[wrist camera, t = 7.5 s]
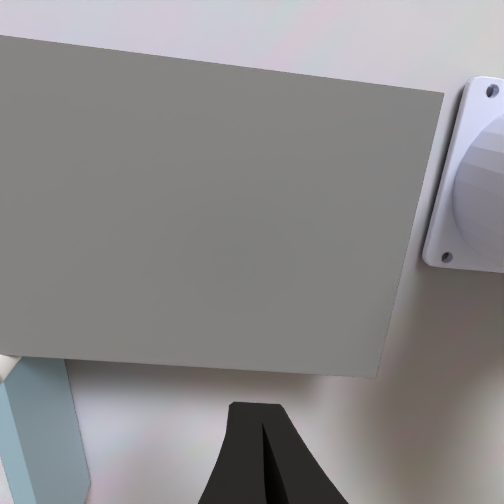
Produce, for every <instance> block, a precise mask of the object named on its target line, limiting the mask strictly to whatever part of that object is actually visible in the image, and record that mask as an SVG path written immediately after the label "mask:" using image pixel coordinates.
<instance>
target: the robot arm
mask: <svg viewBox="0 0 504 504" xmlns="http://www.w3.org/2000/svg"><path fill="white" fill-rule="evenodd" d="M490 85H492V87H493V94H492V95H491V96H490V97H487V95H486V90H487V88H488V87H489V86H490ZM445 252H449V255H448V257H447V258H446V259H445V260H441V257H442V255H443V254H444V253H445ZM422 258H423V260H424V261H425V262H426V263H427V264H428V265H429V266H432V267H442V268H453V269H464V270H475V271H487V272H498V273H504V79H501V78H493V77H486V76H478V77H473V78H471V79H470V80H469V81H468V82H467V83H466V85H465V87H464V91H463V95H462V99H461V102H460V106H459V110H458V114H457V118H456V122H455V126H454V130H453V134H452V138H451V142H450V146H449V150H448V154H447V158H446V162H445V166H444V170H443V173H442V177H441V181H440V185H439V189H438V193H437V197H436V201H435V205H434V209H433V213H432V217H431V221H430V225H429V229H428V233H427V237H426V241H425V244H424V248H423V252H422ZM198 504H348V502H347V501H346V500H345V499H344V497H343V496H342V495H341V494H340V492H339V491H338V490H337V489H336V487H335V486H334V485H333V483H332V482H331V481H330V479H329V478H328V477H327V475H326V474H325V473H324V471H323V470H322V468H321V467H320V466H319V464H318V463H317V461H316V460H315V458H314V457H313V455H312V454H311V452H310V451H309V449H308V448H307V446H306V445H305V443H304V442H303V440H302V438H301V437H300V435H299V434H298V432H297V430H296V429H295V427H294V425H293V424H292V422H291V420H290V418H289V417H288V415H287V413H286V411H285V409H284V408H283V407H282V406H281V404H266V403H248V402H233V403H232V404H230V405H229V411H228V420H227V428H226V434H225V438H224V441H223V444H222V447H221V450H220V453H219V456H218V459H217V462H216V464H215V467H214V469H213V471H212V474H211V476H210V478H209V481H208V483H207V485H206V488H205V490H204V492H203V494H202V496H201V498H200V500H199V502H198Z"/></svg>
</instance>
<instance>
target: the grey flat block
mask: <svg viewBox="0 0 504 504" xmlns="http://www.w3.org/2000/svg"><path fill="white" fill-rule="evenodd" d="M443 97H444V93H441V92H434V91H426V90H418V89H410V88H403V87H395V86H387V85H380V84H372V83H364V82H357V81H349V80H341V79H334V78H326V77H318V76H310V75H303V74H295V73H287V72H280V71H272V70H264V69H257V68H249V67H241V66H234V65H226V64H218V63H211V62H203V61H195V60H187V59H180V58H172V57H164V56H157V55H149V54H141V53H134V52H126V51H118V50H111V49H103V48H95V47H87V46H80V45H72V44H64V43H57V42H49V41H41V40H34V39H26V38H18V37H11V36H3V35H0V355H14V356H30V357H46V358H62V359H78V360H94V361H110V362H126V363H141V364H157V365H173V366H189V367H205V368H221V369H237V370H253V371H269V372H285V373H301V374H317V375H333V376H349V377H365V378H376V375H377V371H378V367H379V363H380V359H381V354H382V350H383V346H384V342H385V338H386V334H387V330H388V325H389V321H390V317H391V313H392V309H393V305H394V300H395V296H396V292H397V288H398V284H399V280H400V276H401V271H402V267H403V263H404V259H405V255H406V251H407V247H408V242H409V238H410V234H411V230H412V226H413V222H414V218H415V213H416V209H417V205H418V201H419V197H420V193H421V188H422V184H423V180H424V176H425V172H426V168H427V164H428V159H429V155H430V151H431V147H432V143H433V139H434V135H435V130H436V126H437V122H438V118H439V114H440V110H441V105H442V101H443Z"/></svg>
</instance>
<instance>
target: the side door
mask: <svg viewBox="0 0 504 504" xmlns="http://www.w3.org/2000/svg"><path fill="white" fill-rule="evenodd" d="M0 457H1V460H2V464H3V467H4V471H5V474H6V477H7V481H8V484H9V488H10V491H11V495H12V498H13V501H14V504H84V503H85V499H86V496H87V493H88V490H89V487H90V484H91V483H90V478H89V473H88V469H87V464H86V459H85V454H84V450H83V445H82V440H81V436H80V431H79V426H78V422H77V417H76V412H75V408H74V403H73V398H72V394H71V389H70V384H69V380H68V375H67V370H66V366H65V361H64V359H62V358H46V357H30V356H14V355H0Z"/></svg>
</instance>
